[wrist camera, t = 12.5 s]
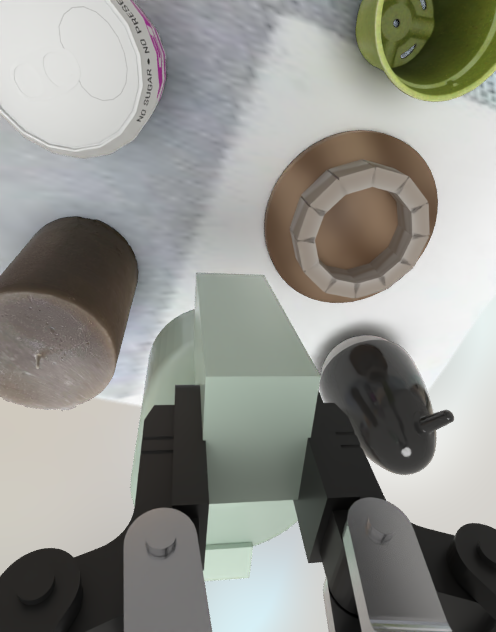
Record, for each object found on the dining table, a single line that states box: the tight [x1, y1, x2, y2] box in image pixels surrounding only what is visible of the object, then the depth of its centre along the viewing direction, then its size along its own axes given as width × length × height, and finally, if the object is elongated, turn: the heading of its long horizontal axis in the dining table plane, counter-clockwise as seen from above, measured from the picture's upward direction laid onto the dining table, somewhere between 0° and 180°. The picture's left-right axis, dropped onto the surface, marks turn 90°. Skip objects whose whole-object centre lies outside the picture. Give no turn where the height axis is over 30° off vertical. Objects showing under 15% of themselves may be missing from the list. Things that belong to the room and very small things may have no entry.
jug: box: [130, 273, 321, 581], centre depth 16 cm, size 11×6×12 cm, turn 174°
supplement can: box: [0, 0, 167, 159], centre depth 25 cm, size 8×8×15 cm
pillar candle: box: [0, 217, 138, 410], centre depth 33 cm, size 10×10×15 cm
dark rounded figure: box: [320, 335, 454, 475], centre depth 43 cm, size 10×10×15 cm
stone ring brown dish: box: [264, 130, 438, 303], centre depth 39 cm, size 16×16×4 cm
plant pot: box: [355, 0, 496, 102], centre depth 29 cm, size 9×9×9 cm
